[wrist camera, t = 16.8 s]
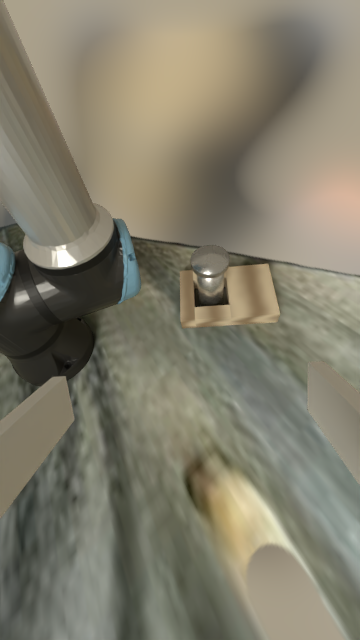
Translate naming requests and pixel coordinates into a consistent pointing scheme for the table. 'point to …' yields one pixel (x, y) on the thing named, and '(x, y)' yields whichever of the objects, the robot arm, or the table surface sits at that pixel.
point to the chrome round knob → (210, 273)
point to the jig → (232, 299)
